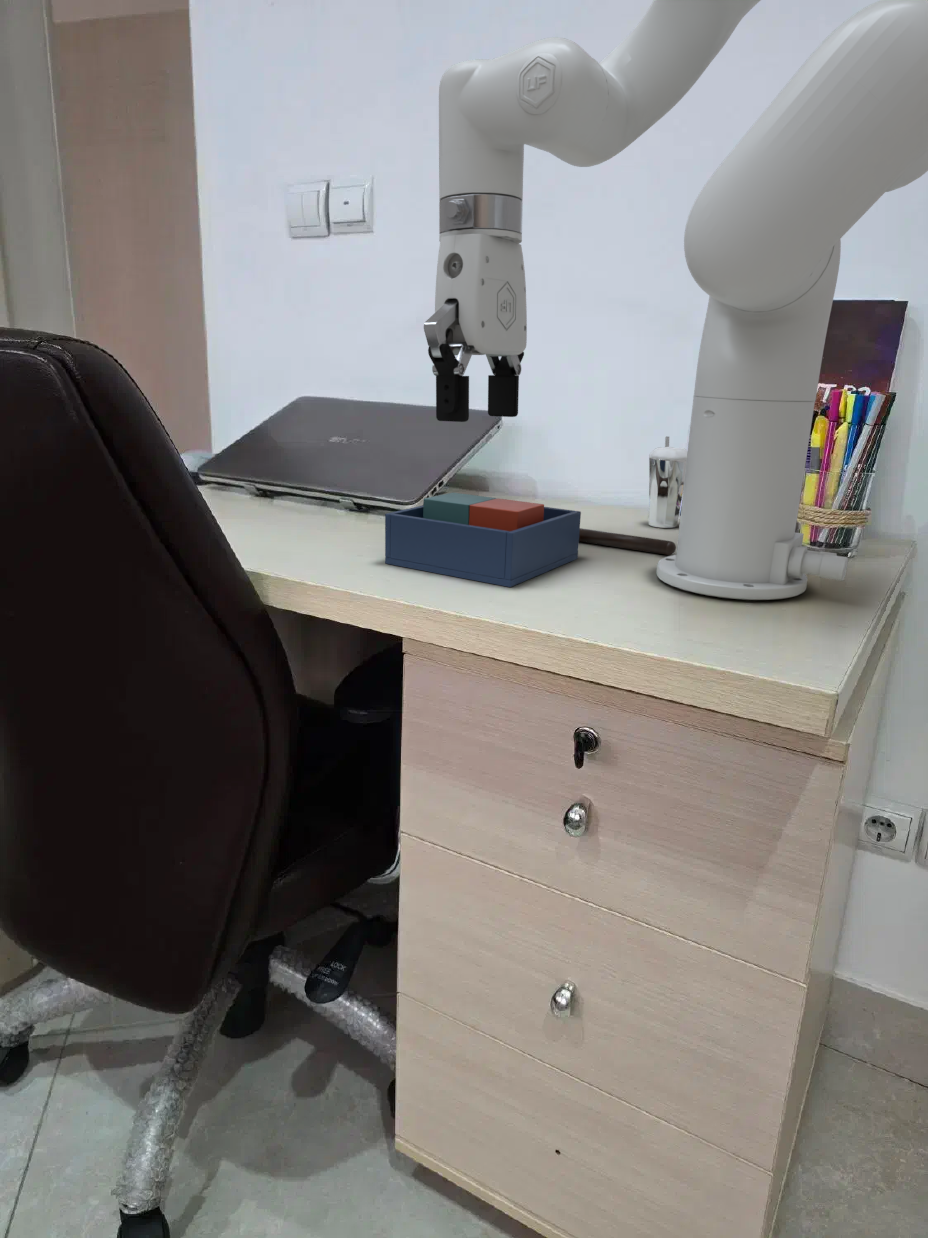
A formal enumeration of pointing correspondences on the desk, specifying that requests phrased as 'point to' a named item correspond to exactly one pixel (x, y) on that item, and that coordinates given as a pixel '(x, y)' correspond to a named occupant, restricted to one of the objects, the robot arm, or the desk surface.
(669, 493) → the milkshake
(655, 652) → the desk surface
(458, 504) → the block teal
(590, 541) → the dark brown dowel rod
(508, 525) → the block red
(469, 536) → the basket
